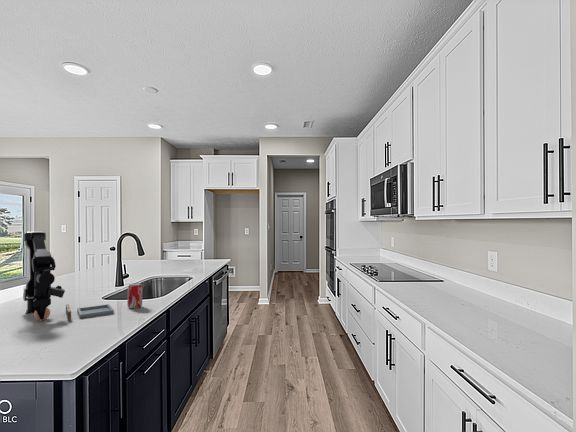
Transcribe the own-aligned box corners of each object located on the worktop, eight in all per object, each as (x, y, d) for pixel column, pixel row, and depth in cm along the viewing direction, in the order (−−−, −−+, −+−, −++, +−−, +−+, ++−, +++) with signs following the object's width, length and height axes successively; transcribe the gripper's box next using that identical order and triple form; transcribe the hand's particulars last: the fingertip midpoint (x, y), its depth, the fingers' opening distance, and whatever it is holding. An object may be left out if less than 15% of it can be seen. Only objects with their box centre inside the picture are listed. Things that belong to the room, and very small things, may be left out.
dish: (77, 311, 166) (77, 308, 166) (109, 307, 174) (109, 304, 174) (79, 318, 155) (79, 314, 155) (113, 313, 163) (113, 310, 163)
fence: (65, 312, 164) (65, 304, 164) (68, 312, 165) (68, 304, 165) (67, 320, 151) (67, 312, 151) (71, 320, 152) (71, 311, 152)
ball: (33, 319, 153) (33, 306, 153) (49, 317, 156) (50, 304, 156) (33, 323, 148) (33, 309, 148) (50, 320, 152) (50, 307, 152)
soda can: (136, 309, 171) (136, 285, 171) (124, 308, 172) (124, 285, 173) (145, 306, 178) (145, 283, 178) (133, 305, 179) (133, 282, 179)
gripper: (64, 284, 150) (64, 319, 149) (62, 278, 165) (62, 310, 164) (33, 287, 143) (32, 324, 143) (34, 280, 158) (33, 313, 158)
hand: (42, 317), depth 152 cm, fingers closed on ball, 6 cm apart
